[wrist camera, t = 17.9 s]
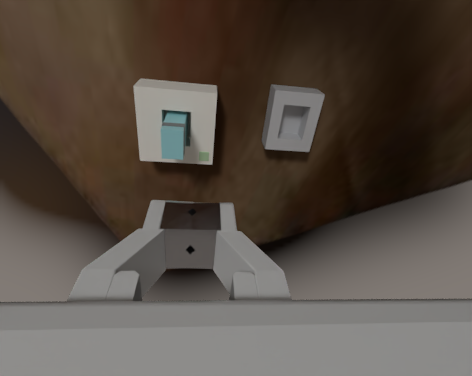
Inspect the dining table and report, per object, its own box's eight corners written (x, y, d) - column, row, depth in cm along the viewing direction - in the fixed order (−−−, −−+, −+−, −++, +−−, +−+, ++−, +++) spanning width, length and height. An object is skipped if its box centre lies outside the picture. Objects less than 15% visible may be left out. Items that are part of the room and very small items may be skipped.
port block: (140, 78, 44) (133, 86, 39) (216, 85, 45) (217, 93, 41) (145, 147, 50) (139, 161, 46) (212, 152, 52) (212, 165, 47)
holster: (271, 84, 46) (275, 90, 43) (317, 88, 47) (324, 94, 44) (261, 140, 51) (265, 149, 48) (303, 143, 52) (309, 152, 49)
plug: (169, 106, 45) (160, 128, 37) (188, 108, 46) (183, 130, 38) (169, 132, 48) (161, 158, 40) (187, 133, 48) (183, 160, 40)
